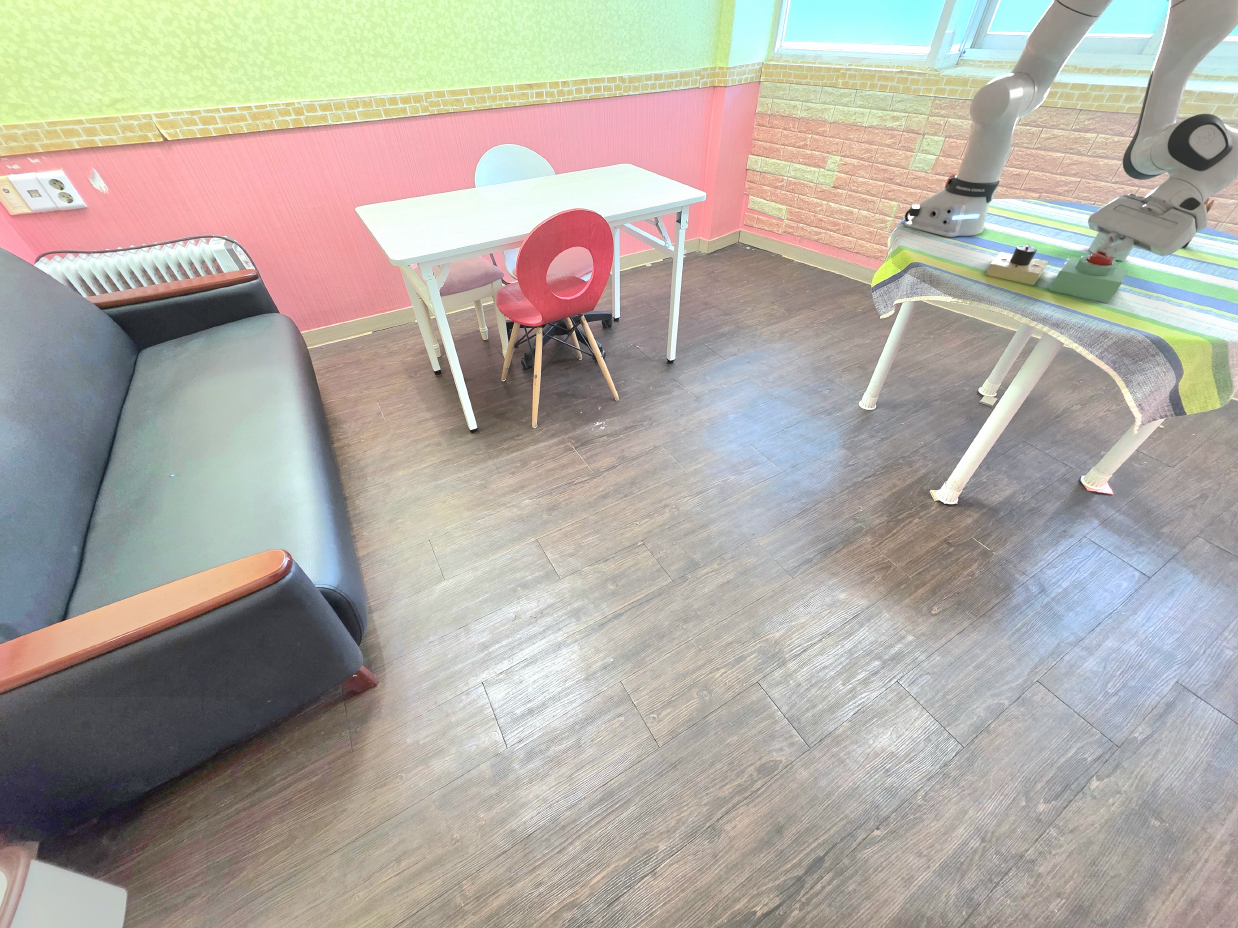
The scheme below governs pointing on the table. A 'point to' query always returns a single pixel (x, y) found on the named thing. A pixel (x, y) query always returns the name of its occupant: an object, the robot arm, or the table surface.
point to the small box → (1100, 240)
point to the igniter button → (1100, 259)
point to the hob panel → (1016, 269)
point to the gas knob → (1023, 255)
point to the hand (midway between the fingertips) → (1101, 254)
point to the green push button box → (1089, 279)
